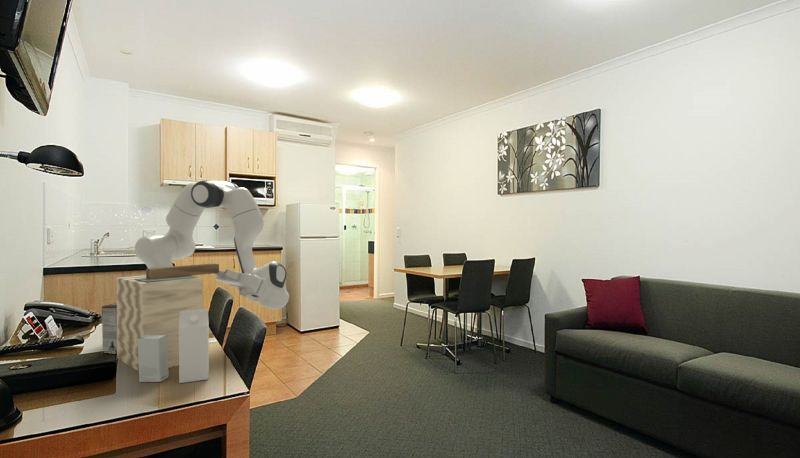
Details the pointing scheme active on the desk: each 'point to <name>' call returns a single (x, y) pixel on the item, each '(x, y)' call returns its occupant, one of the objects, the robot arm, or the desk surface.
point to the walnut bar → (181, 271)
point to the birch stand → (153, 312)
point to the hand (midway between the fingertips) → (219, 270)
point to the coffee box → (109, 327)
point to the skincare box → (153, 358)
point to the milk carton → (193, 345)
